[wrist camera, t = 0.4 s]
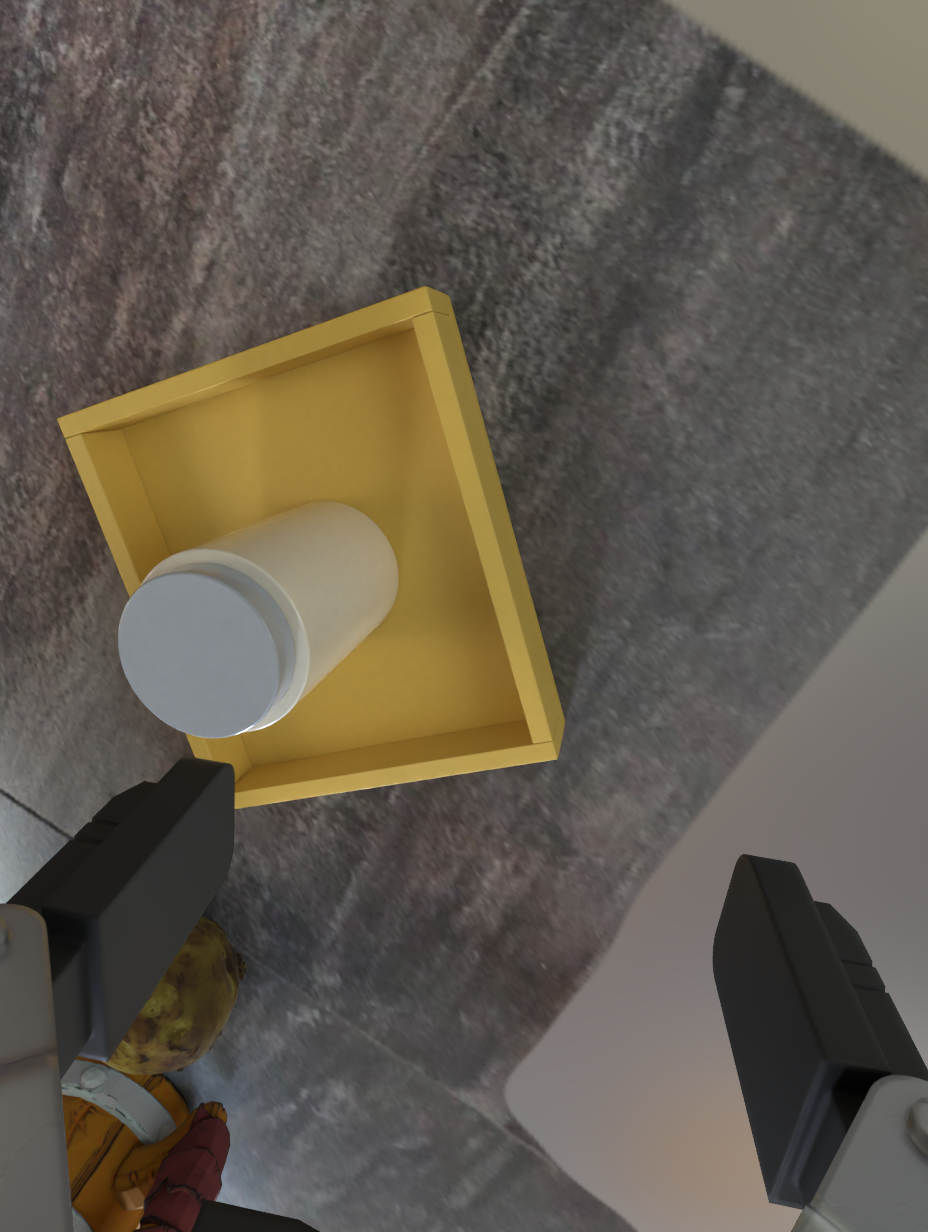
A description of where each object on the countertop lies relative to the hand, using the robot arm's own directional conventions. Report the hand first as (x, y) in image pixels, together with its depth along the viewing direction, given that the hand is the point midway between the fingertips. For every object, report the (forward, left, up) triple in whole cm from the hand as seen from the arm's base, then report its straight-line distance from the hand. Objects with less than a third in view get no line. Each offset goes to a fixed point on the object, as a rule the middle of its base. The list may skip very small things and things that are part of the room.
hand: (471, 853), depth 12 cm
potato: (+15, -26, -20) cm, 36 cm away
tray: (-2, -10, -19) cm, 22 cm away
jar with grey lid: (-2, -10, -19) cm, 21 cm away
